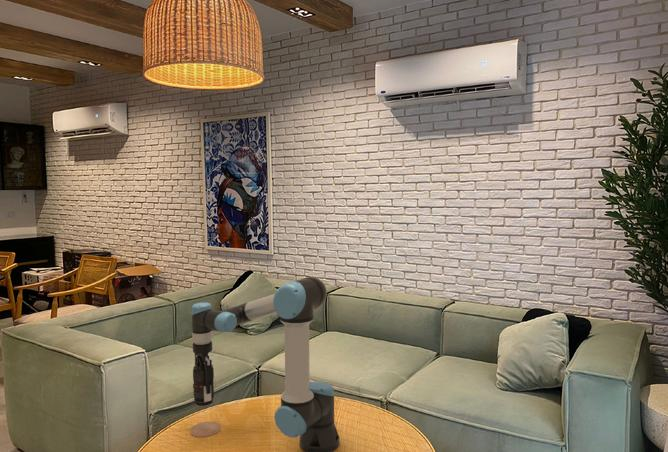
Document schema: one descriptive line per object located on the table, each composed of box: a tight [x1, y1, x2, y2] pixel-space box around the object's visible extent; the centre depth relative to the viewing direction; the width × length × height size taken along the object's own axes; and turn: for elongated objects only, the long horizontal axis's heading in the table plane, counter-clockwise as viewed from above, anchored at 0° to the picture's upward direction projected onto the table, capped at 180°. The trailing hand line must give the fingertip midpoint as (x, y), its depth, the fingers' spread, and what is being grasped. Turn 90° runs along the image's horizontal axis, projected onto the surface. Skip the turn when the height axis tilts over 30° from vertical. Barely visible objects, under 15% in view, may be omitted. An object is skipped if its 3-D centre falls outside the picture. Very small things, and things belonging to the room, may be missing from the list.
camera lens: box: [192, 364, 215, 407], centre depth 201 cm, size 8×8×15 cm
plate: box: [189, 421, 222, 438], centre depth 202 cm, size 12×12×1 cm
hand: (204, 397), depth 201 cm, fingers closed on camera lens, 8 cm apart
